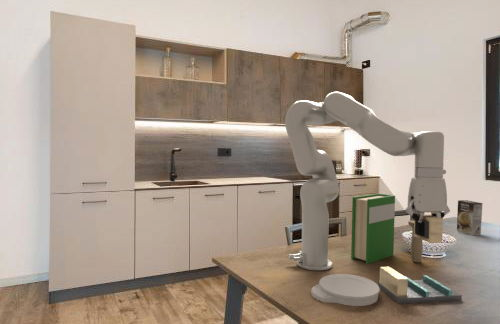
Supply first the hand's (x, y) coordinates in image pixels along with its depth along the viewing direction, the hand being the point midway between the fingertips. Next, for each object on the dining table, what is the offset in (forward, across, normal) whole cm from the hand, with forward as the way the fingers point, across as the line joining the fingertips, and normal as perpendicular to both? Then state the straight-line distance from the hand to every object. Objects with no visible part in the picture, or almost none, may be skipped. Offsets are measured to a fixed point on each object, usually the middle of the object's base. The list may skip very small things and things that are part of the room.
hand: (426, 234), depth 104 cm
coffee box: (+18, -69, -64) cm, 96 cm away
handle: (+18, -15, -26) cm, 35 cm away
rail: (+17, +3, 0) cm, 18 cm away
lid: (+18, +25, -2) cm, 30 cm away
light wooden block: (+1, 0, 0) cm, 1 cm away
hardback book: (+18, -1, -34) cm, 38 cm away
